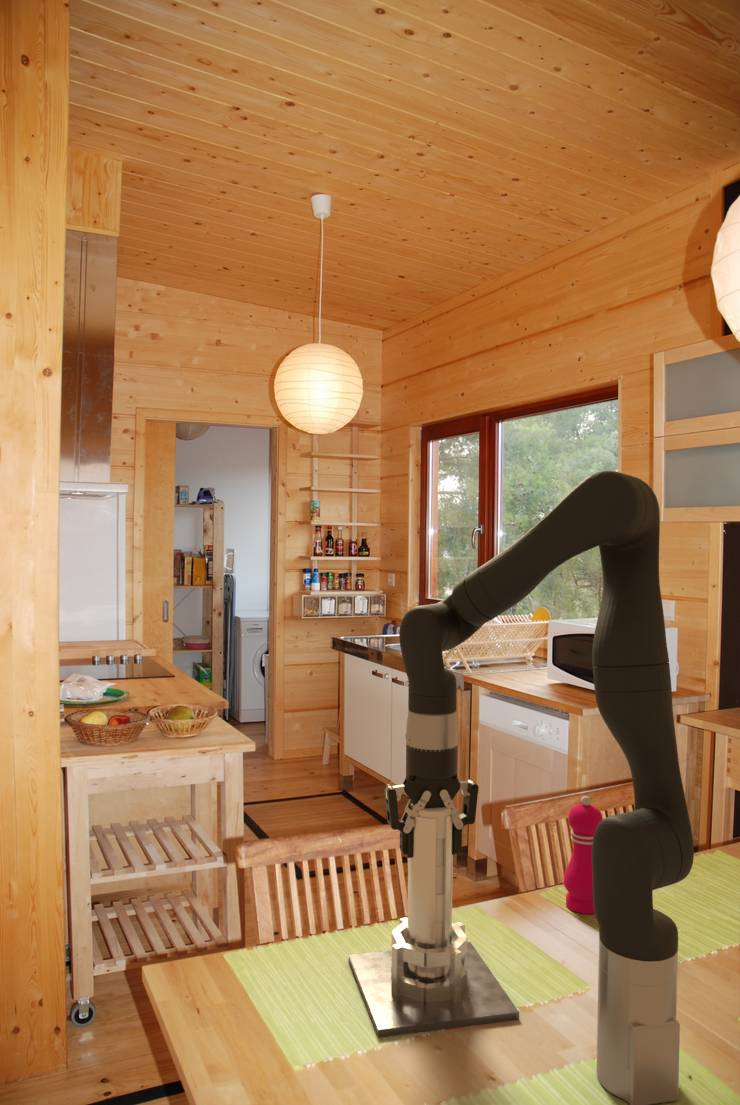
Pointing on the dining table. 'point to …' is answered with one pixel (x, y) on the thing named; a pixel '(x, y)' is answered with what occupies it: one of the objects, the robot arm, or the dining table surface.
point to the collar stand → (429, 987)
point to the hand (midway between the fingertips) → (430, 853)
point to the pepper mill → (581, 857)
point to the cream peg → (430, 889)
